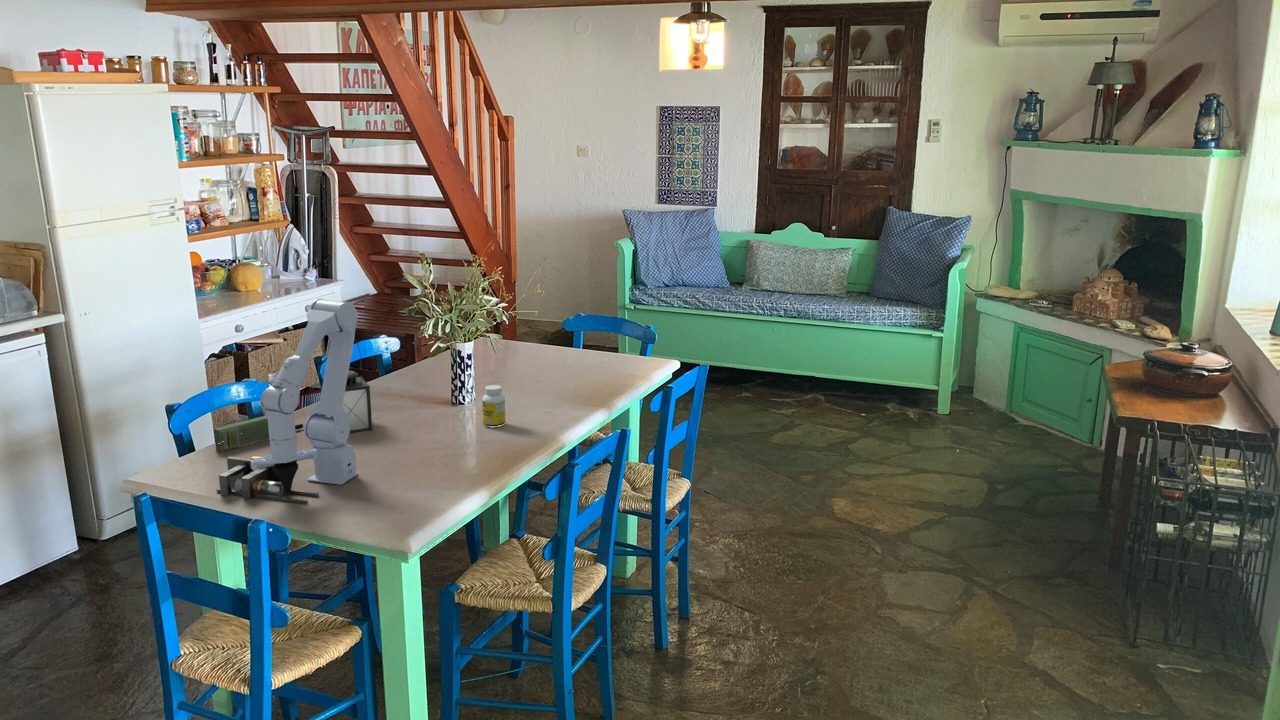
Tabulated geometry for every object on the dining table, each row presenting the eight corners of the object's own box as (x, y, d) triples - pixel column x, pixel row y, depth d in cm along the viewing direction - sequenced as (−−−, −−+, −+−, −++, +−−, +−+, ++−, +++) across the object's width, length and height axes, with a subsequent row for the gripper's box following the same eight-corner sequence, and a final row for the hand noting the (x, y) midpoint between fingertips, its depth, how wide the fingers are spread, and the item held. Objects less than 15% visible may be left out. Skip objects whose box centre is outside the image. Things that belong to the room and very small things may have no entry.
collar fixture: (326, 491, 224) (324, 464, 223) (303, 506, 216) (300, 478, 214) (232, 479, 231) (230, 453, 229) (206, 493, 222) (203, 466, 220)
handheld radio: (214, 451, 251) (299, 428, 270) (220, 454, 249) (305, 431, 268) (212, 427, 250) (297, 406, 268) (218, 430, 248) (304, 409, 266)
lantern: (372, 430, 269) (367, 334, 262) (332, 436, 264) (325, 338, 257) (364, 420, 278) (359, 327, 271) (325, 424, 273) (319, 330, 266)
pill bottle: (480, 423, 276) (478, 385, 273) (501, 420, 279) (500, 383, 276) (487, 430, 270) (486, 391, 267) (508, 427, 273) (507, 388, 270)
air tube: (287, 492, 223) (285, 480, 222) (279, 498, 220) (277, 487, 219) (245, 485, 226) (242, 474, 225) (236, 492, 223) (233, 481, 222)
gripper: (309, 427, 224) (313, 480, 227) (245, 438, 216) (250, 493, 219) (318, 435, 218) (322, 490, 222) (253, 446, 210) (258, 503, 214)
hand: (287, 492), depth 220 cm, fingers closed
